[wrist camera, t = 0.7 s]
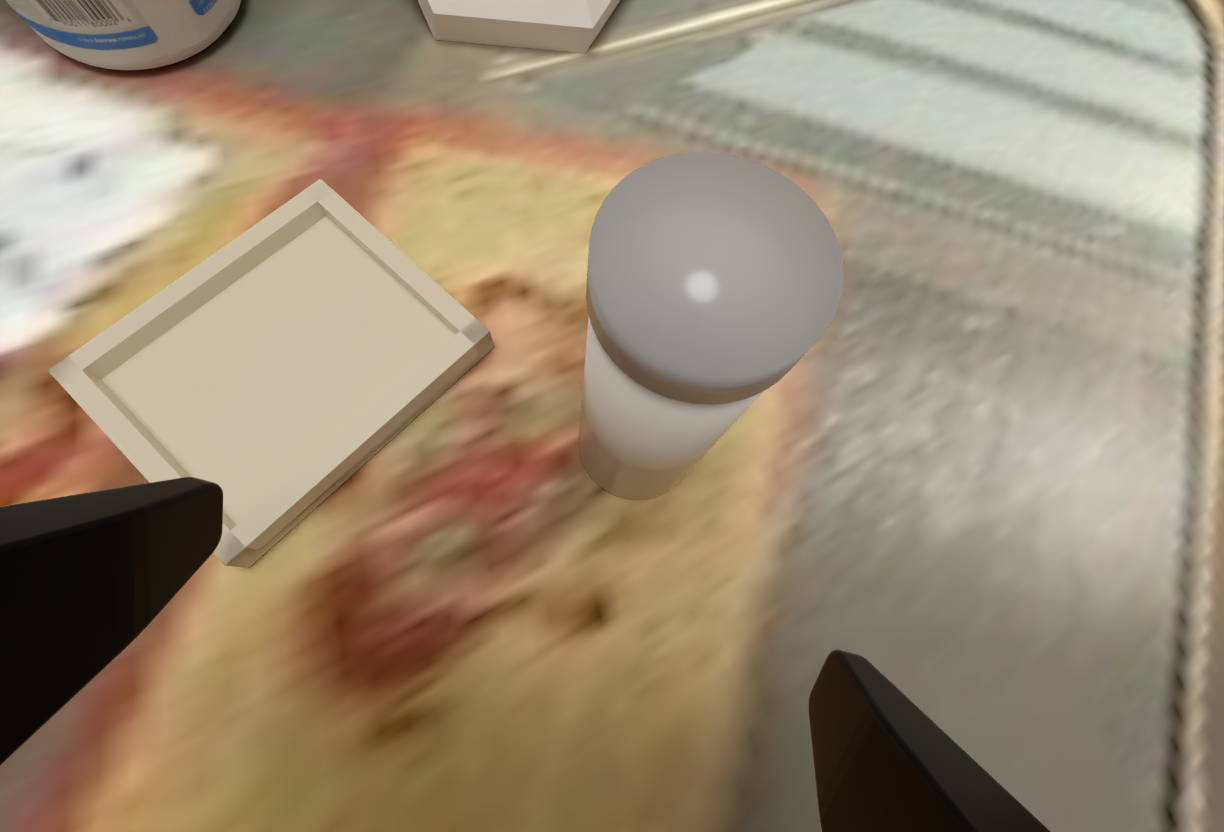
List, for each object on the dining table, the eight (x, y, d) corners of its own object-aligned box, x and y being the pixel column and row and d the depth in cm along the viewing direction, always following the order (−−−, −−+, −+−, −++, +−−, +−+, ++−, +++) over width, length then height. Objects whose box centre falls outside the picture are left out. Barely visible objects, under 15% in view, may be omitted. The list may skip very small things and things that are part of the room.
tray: (248, 568, 20) (224, 565, 19) (81, 385, 22) (47, 370, 21) (494, 347, 24) (489, 330, 22) (334, 202, 25) (320, 178, 24)
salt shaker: (641, 528, 22) (739, 430, 10) (550, 445, 23) (533, 255, 10) (719, 440, 23) (891, 256, 11) (631, 364, 24) (700, 112, 12)
